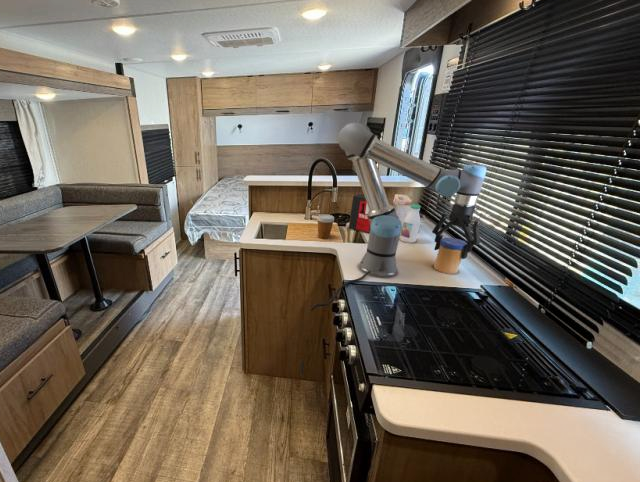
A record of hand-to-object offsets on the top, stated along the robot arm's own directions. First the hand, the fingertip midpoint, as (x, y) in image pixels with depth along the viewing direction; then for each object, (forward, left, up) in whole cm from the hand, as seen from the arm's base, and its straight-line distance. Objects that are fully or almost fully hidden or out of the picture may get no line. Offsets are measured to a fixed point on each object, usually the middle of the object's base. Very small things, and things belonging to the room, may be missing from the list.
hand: (449, 253), depth 134 cm
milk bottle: (+19, +29, -8) cm, 36 cm away
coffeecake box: (+32, +44, -8) cm, 55 cm away
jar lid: (0, 0, +5) cm, 5 cm away
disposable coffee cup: (-16, +58, -8) cm, 61 cm away
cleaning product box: (+14, +53, -8) cm, 55 cm away
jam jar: (0, 0, -8) cm, 8 cm away
